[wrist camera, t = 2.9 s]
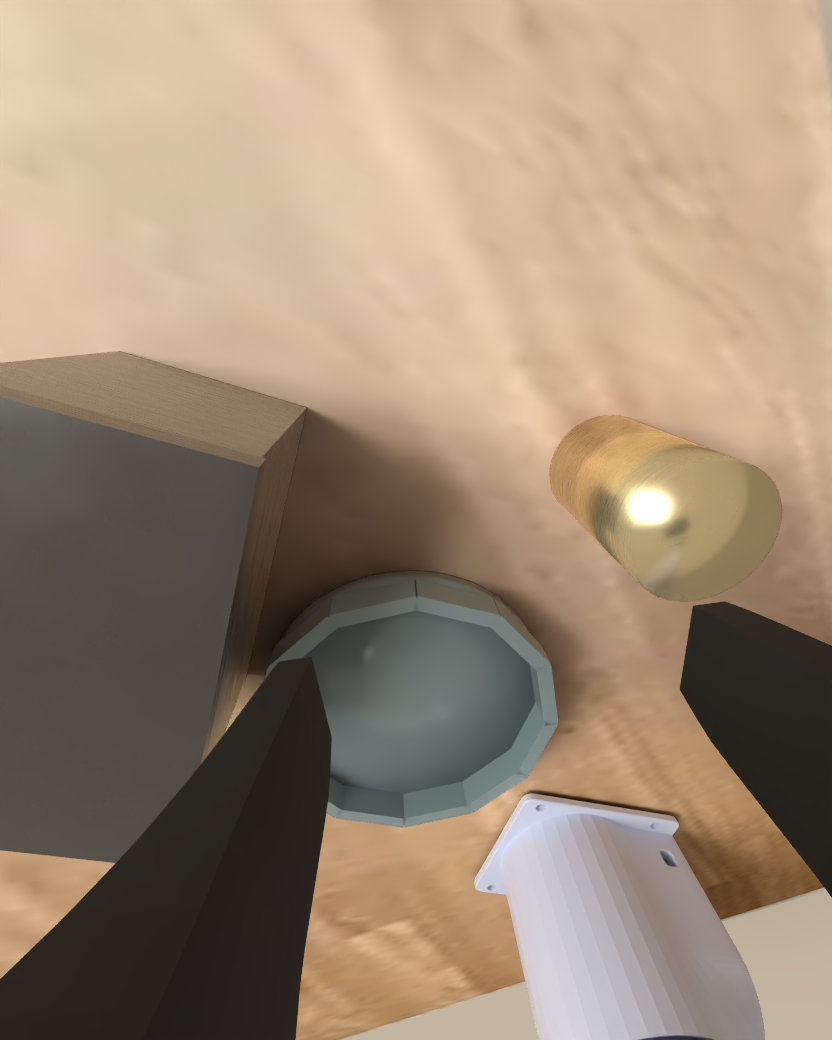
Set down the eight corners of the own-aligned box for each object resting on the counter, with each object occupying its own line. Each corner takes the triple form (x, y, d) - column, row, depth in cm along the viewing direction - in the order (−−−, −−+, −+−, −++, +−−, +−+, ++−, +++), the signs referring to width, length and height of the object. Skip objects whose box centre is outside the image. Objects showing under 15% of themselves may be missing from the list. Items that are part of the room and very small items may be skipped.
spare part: (672, 433, 17) (814, 485, 11) (622, 527, 18) (726, 615, 13) (577, 400, 16) (678, 439, 11) (532, 501, 18) (601, 582, 12)
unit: (314, 403, 16) (259, 467, 9) (250, 679, 20) (180, 869, 13) (109, 341, 14) (-146, 357, 7) (90, 649, 19) (-82, 841, 12)
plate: (583, 608, 20) (606, 640, 18) (482, 796, 24) (492, 839, 22) (302, 538, 17) (292, 566, 15) (247, 759, 22) (234, 804, 20)
